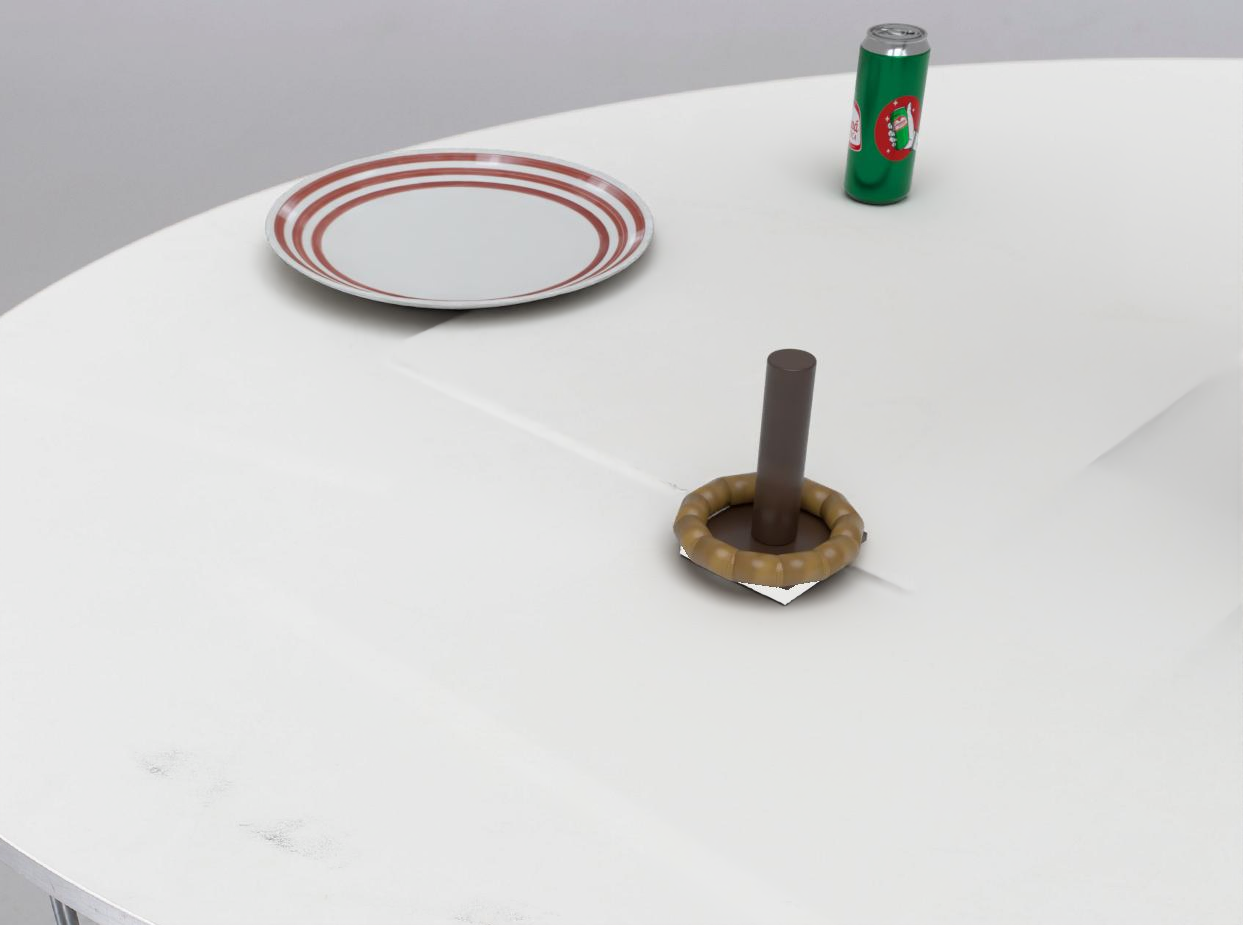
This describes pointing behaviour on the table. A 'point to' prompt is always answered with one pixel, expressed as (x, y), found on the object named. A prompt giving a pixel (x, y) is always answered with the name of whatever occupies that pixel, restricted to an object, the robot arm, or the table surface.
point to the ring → (761, 565)
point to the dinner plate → (459, 227)
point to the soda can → (886, 113)
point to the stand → (779, 467)
